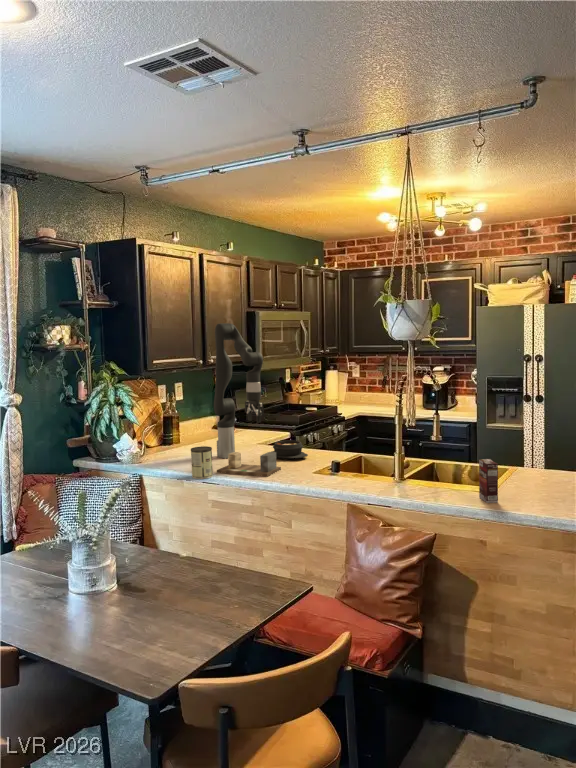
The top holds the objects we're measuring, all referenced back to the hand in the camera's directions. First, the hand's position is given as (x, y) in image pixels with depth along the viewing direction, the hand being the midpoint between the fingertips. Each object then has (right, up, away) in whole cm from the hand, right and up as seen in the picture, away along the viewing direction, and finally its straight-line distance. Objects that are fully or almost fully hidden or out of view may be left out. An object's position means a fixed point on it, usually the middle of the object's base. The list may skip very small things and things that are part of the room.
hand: (254, 421), depth 320 cm
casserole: (+18, -22, +22) cm, 36 cm away
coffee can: (-24, -26, -19) cm, 40 cm away
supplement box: (+98, -27, -73) cm, 125 cm away
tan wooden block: (-10, -23, -9) cm, 27 cm away
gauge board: (-2, -24, -10) cm, 27 cm away
